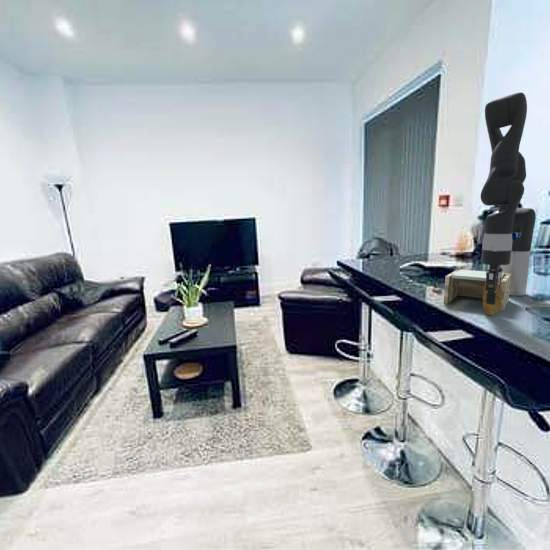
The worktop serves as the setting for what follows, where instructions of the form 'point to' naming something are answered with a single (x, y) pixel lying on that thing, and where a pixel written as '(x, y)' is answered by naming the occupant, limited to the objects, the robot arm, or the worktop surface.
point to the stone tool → (496, 307)
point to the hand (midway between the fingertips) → (491, 301)
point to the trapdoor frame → (473, 288)
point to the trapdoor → (471, 275)
